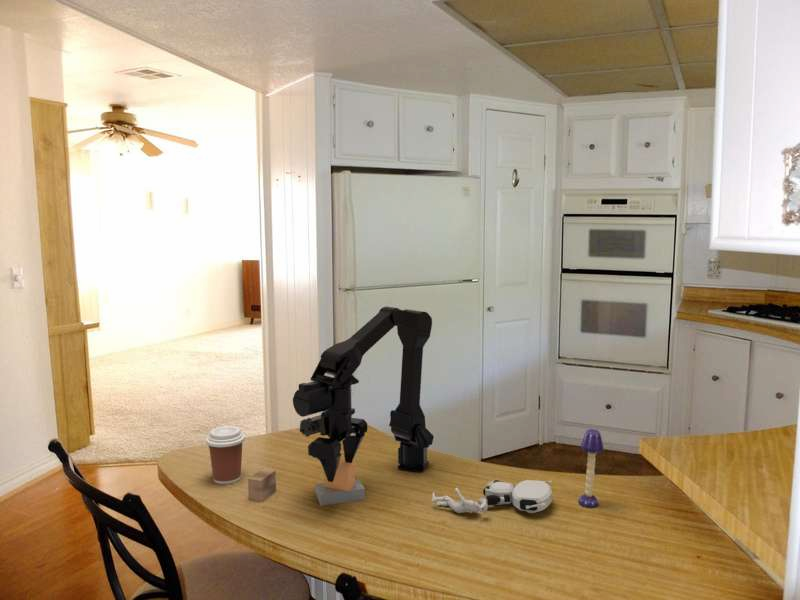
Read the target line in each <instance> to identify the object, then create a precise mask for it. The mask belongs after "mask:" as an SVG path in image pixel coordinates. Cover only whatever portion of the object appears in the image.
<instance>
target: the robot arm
mask: <svg viewBox="0 0 800 600" xmlns="http://www.w3.org/2000/svg"><path fill="white" fill-rule="evenodd" d="M395 326H396V328H397V335H398V337H399V340H400V343H401V344H402V357H401V358H402V359H401V375H400V391H399V403H398V405H397V407H396V408H395V409H392V410H391V411H390V413H389V415H390V419H389V424H388V426H389V427H390V432H391V433H392V434H393V437H394V440H395V441H396V442H398V443H399V442H400V443H399V447H398V449H397V460H398V461H397V463H398V465H397V469H398V470H405V471H410V472H418V473H422V472H424V470H425V469H426V468H427V467H428V465H429V464H430V460H428V448H430V446H431V445H433V441H434V435H433V434H432V432H431V431H430V430H429V429H427V426H426V416H425V413H424V412H423V409H422V407H421V401H420V400H421V388H422V387H421V386H422V385H421V384H422V373H423V372H422V371H423V370H422V369H423V353H424V347H425V345H426V344H427V342H428V341H429V339H430V338H431V332H432V327H433V318H432V316H431V315H430V314H429V313H428V312H427V311H422V310H414V309H408V308H407V309H400V308H398V307H393V306H383V307H381V308H380V309H379V311H378V313H377V314H376V315H375V316H373V317H372V318H371V319H370V320H369V321H367V322H366V323H365V324H364V325H363V326H362V327H361V328H360V329H358V330H357V331H356V332H355V333H354V334H353V335H351V336H350V337H349V338H347V339H346V340H344V341H340V342H338V343H335V344H333V345H332V346H330V347H328V348H326V349H325V350H324V351H323V352H322V353H321V355H320V360H319V361H318V363H317V366H316V367H315V370H314V371H313V373H312V375H311V377H310V382H301V383H299V384H298V389H297V390H296V391H295V392H294V395H293V397H292V405H293V408H294V411H295V412H296V414H297V415H298V416H300V417H301V418H302V417H308V416H311V415H315V414H318V413H321V414H320V415H316V416H312V417H308V418H303V419H302V420H300V424H299V433H301V434H302V435H303V436H305V438H308V437H310V436H311V435H315V434H319V433H320V434H319V437H317V438H315V439H314V440H313V441H311V442H310V443H309V444H308V445H307V454H308V456H309V457H312V458H316V459H317V460H318V461H319V462H320V464H321V466H322V469H323V473H324V472H325V474H326V477H327V480H328V481H329V482H333V481H334V478H335V475H336V471H337V468H338V464H339V461H340V460H341V458H342V457H341V456H342V453H341V451H342V448H343V454H344V455H343V456H344V462H347V463H354V462H353V461H354V459H355V457H356V454H357V452H358V450H359V447H360V445H361V444H362V441H363V439H364V437H365V436H366V432H368V422H367V421H366V420H365V419H363V418H359V417H358V418H357V417H353V415H354V414H355V413H356V409H355V408H352V407H353V406H352V385H356V384H359V383H360V380H359V379H358V378H356V377H355V376H354V373H355V372H356V371H357V369H358V368H359V367H360V365H361V364H362V359H363V357H364V355H365V354H367V352H368V351H369V350H371V348H373V347H374V346H375V345H376V344H377V343H378V342H379V341H380V340H381V339H383V337H385V336H386V335H387V334H388V333H389V332H390V331H391V330H392V329H394V328H395ZM325 374H326V375H325ZM330 375H331V376H330ZM333 376H334V377H333ZM321 436H322V437H321ZM324 436H327V437H328V438H327V437H324ZM341 443H342V444H341ZM340 462H341V461H340Z"/></svg>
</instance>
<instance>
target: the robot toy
mask: <svg viewBox="0 0 800 600" xmlns="http://www.w3.org/2000/svg"><path fill="white" fill-rule="evenodd" d="M553 481H554V480H547V481H544V480H534V479H533V480H532V479H525V480H522V481H520V482H519V483H517V484H516V485H513V483H510V482H505V481H502V480H499V479H495V480H490V481H489V482H488V483H487V485H486V487H484V488H483V491H482V494H483V495H484V496H485V497H481V498H479V500H478V503H479V504H481V503H482V502H484V501H485V499H486V501H487V505H488V506H502V505H510V504H512V505H513V506H514V507H515V509H516V508H517V510H519V511H522V512H523V511H524V512H526V513H528V514H536V513H538V512H542V511H544V510H546V508H548V507H549V506H550V505H551V504H552V502H553V496H552V495H553V494H552V493H553V492H552V487H551V486H550V485H549V484H551V483H553Z"/></svg>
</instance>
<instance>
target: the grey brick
mask: <svg viewBox="0 0 800 600" xmlns="http://www.w3.org/2000/svg"><path fill="white" fill-rule="evenodd" d="M314 487H315V493H314V494H315V497H316V499H317V500H318V503H319V505H320V507H323V506H324V505H325V506H330V504H331V505H338V504H343V502H345V503H350V502H357V501H363V500H364V499H365V500H366V488H365V486H364V485H363V483H362V482H361V480H360V479H359V477H355V486H354V487H353V488H352V489H350V490H349V491H345V490H339V489H333V488H327V487H324V482H318V483H315V485H314ZM337 503H338V504H337ZM325 506H324V507H325Z"/></svg>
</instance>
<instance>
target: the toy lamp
mask: <svg viewBox="0 0 800 600" xmlns="http://www.w3.org/2000/svg"><path fill="white" fill-rule="evenodd" d="M580 445H581V446H580V447H581V449H582V450H583V451H584V452H587V463H586V473H585V474H586V476H585V481H586V482H585V485H584V487H585V490H584V494H582V495H580V496H579V498H578V504H579V505H580V506H582V507H584V508H588V509H593V508H594V509H595V508H598V506H599V505H600V504H599V501H598V498H597V497H596V496H595V495H594V491H593V490H594V481H595V474H596V473H595V468H596V455H597V454H598V453H602V452H603V451H604V443H603V437H602V434H601V432H600V431H599V430H598V429H593V428H588V429H587V430H586V431H585V433H584V436H583V438H582V442H581V444H580Z"/></svg>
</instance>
